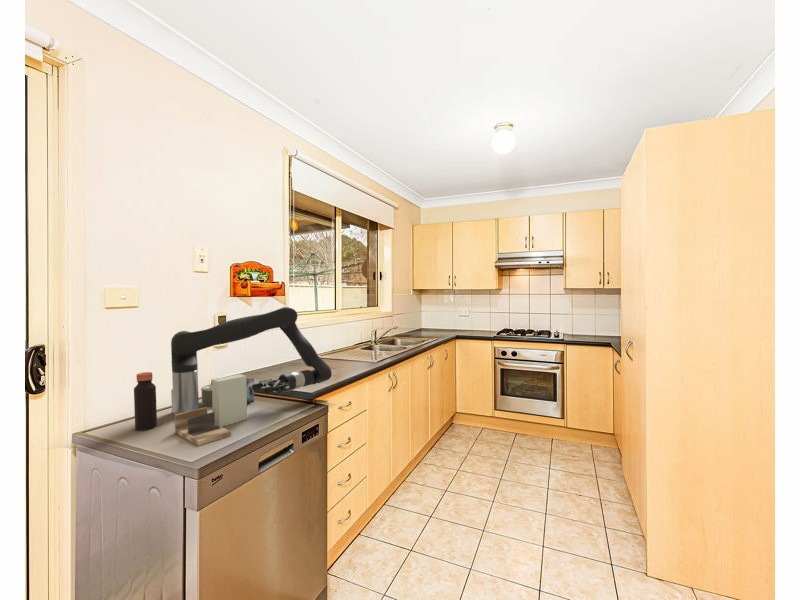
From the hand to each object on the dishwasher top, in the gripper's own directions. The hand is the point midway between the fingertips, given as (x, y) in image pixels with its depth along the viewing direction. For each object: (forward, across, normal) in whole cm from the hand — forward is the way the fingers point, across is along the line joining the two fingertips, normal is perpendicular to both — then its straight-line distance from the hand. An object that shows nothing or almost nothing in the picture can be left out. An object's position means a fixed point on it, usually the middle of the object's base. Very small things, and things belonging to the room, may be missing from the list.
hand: (258, 389), depth 160 cm
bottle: (+34, -19, +10) cm, 40 cm away
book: (+12, 0, +10) cm, 16 cm away
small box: (-2, -17, +10) cm, 20 cm away
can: (+3, -29, +10) cm, 31 cm away
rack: (+24, +4, +10) cm, 27 cm away
